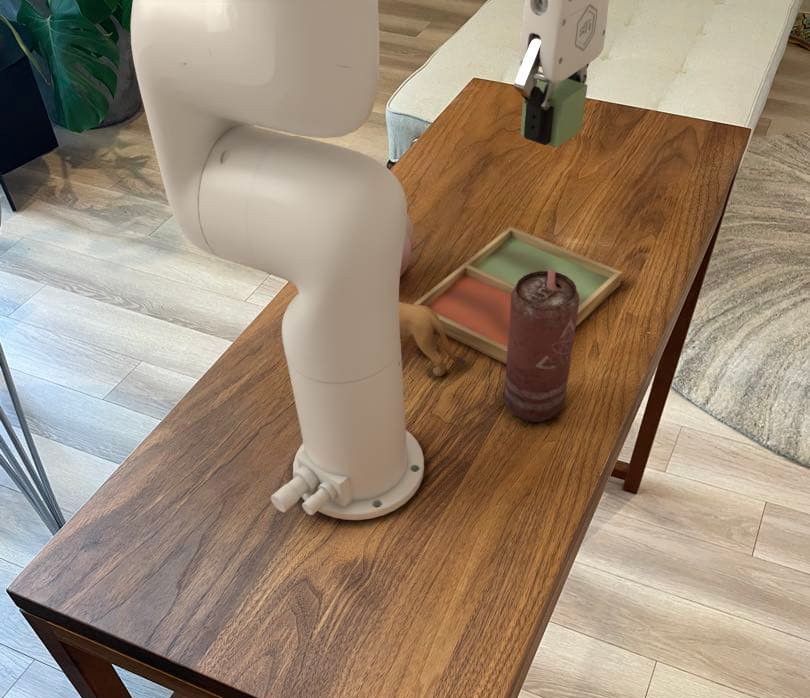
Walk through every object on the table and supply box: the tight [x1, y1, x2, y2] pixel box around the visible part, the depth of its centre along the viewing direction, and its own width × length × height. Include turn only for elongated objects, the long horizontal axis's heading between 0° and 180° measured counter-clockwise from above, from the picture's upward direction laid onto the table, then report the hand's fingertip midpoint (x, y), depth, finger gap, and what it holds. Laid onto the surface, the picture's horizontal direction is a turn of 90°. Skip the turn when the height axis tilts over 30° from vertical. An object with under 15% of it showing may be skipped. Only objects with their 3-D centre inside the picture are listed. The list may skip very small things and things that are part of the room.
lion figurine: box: [399, 300, 467, 378], centre depth 87 cm, size 15×5×9 cm, turn 72°
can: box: [503, 270, 579, 423], centre depth 80 cm, size 6×6×14 cm
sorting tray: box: [412, 226, 623, 365], centre depth 94 cm, size 19×16×2 cm
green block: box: [520, 78, 588, 149], centre depth 92 cm, size 5×5×5 cm
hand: (551, 128), depth 94 cm, fingers closed on green block, 5 cm apart
